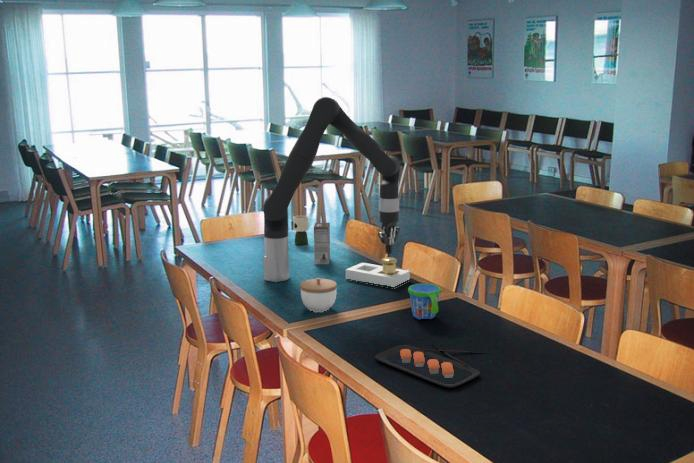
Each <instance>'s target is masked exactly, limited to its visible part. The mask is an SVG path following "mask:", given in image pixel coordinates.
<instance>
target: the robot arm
mask: <svg viewBox="0 0 694 463" xmlns="http://www.w3.org/2000/svg"><path fill="white" fill-rule="evenodd" d="M329 125H330V126H331V127H334V128H335V129H336V130H337V131H338V132H339V133H341V134H342V135H343V136H344V137H345V138H346V139H347V141H348V142H349V143H350V144H351V145H352V146H353V148H354V149H356V150H357V151H358V153H360V154H361V155H362V156H363V157H364V158H366V159H367V160H368V161H369V162H370V163H371V165H372V166H373V167H374V169H375V170H376V171H377V172H378V173H380V174H381V175H382V176H381V177H382V178H381V183H380V185H379V201H378V202H379V203H378V206H379V207H378V209H379V210H378V213H379V216H378V220H379V222H380V223H381V228H380V229H381V231H379V232H378V233H377V235H378V238H379V240H380V241H381V244H383V245H385V254H386V255H391V254H393V245H394V244H395V242H396V241H397V239H398V236H399V233H400V230H401V228H400V227H398V226H397V225H398V224H397V223H399V221H400V200H399V182H400V176H401V175H400V174H401V163H400V160H399V158H397V156H394V155H388V154H387V153H386V152H385V151H384V150H383V149H382V146H381V144H379V143H378V142H377V141H376V140H375V139H374V138H373V137H371V135H369V134H368V133H367V132H366V131H365V130H364V129H362V128H361V126H359V125H357V123H356V122H354V121H353V120H352V119H351V118H350V117H349V116H348V115H347V113H346V112H345V111H344V110H343V108H342V106H340V104H339V103H338V101H337V100H335V99H334V98H331V97H328V96H323V97H320V98H318V99H317V100H316V102H314V104H313V106H312V108H311V111H310V114H309V117H308V119H307V121H306V123H305V126H304V128H303V130H302V131H301V133H300V135H299V136H298V138H297V140H296V142H295V144H294V145H293V147H292V148H291V151H290V153H289V154H288V156H287V158H286V160H285V163H284V166H283V168H282V170H281V174H280V176H279V179H278V181H277V183H276V185H275V187H274V189H273V191H272V192H271V194H270V195H267V198H265V200H264V203H263V206H262V211H263V212H262V213H263V217H264V218H263V225H264V226H263V233H264V234H263V235H264V236H263V237H264V239H263V241H264V256H263V257H262V258H263V280H264V281H268V282H273V283H278V282H285V281H287V280H289V279H290V262H289V211H288V210H289V206H290V203H291V201H292V199H293V197H294V195H295V193H296V191H297V189H298V188H299V187H300V185H301V184H302V182H303V180H304V179H305V177H306V176H307V174H308V172H309V171H310V169H311V167H312V164H313V163H314V161H315V159H316V156H317V153H318V150H319V146H320V144H321V143H320V142H321V140H322V137H323V135H324V134H325V132H326V130H327V128H328V127H329Z"/></svg>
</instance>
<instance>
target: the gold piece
mask: <svg viewBox="0 0 694 463" xmlns="http://www.w3.org/2000/svg"><path fill="white" fill-rule="evenodd" d="M397 262H398V260H397V258H396V257H382V258H381V263H382V266H383V274H386V275H394V274H396V266H397Z"/></svg>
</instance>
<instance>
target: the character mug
mask: <svg viewBox="0 0 694 463" xmlns="http://www.w3.org/2000/svg"><path fill="white" fill-rule="evenodd" d="M292 218H293V220H292V222H293V231H294V232H295V233H294V234H295V236H294V244H295V245H305V244H308V243H309V238H308V231H309V227H310V226H309V216H307V215H294V216H293V217H292Z"/></svg>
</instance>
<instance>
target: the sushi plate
mask: <svg viewBox="0 0 694 463" xmlns="http://www.w3.org/2000/svg"><path fill="white" fill-rule="evenodd" d="M411 351H413V352H414V353H413V359H414V365H415V367H424V364H425V357H424V355H427V356H430V357H432V358H433V359H429V360H428V361H427V365H428V368H429V372H430V374H439V368H440V365H439V361H438V360H440V361H442V362H443V363H441V368H442V375H443V376H444V378H453V376H454V369H453V365H455V366H456V367H458V368H461V369H465V370H467V371H470V372H471V373H472V375H471V376H469V377H468V378H466V379H464V380H462V381H460V382H457V383H455V384H444V383H441V382H438V381H436V380H433V379H430V378H428V377H425V376H423V375H421V374H418V373H416V372H414V371H411V370H409V369H407V368H404V367H402V366H399V365H397V364H394V363H391V362H389V361H388V360H386V358H387V357H388V356H391V355H395V354H396V353H399V352H400V356H401V359H402V363H411V357H412V354H411ZM440 351H443V352H444V353H445V354H444V353H443V354H444V355H446V354H447V355H446V356H448V357H450V358H451V359H450V358H448V357H444V356H442V355H439V354H436V353H434V352H440ZM468 351H469V350H468ZM468 351H467V350H452V349H451V350H448V349H441V350H437V349H429V348H420V347H417V346H414V345H410V344H400V345H396V346H394V347H391V348H388V349H385V350H384V351H381V352H378V353H377V354H375V356H374V358H375V359H376V360H377V361H379V362H381V363H383V364H385V365H387V366H390V367H393V368H395V369H398V370H401V371H403V372H405V373H407V374H411V375H413V376H414V377H415V376H416V377H418V378H421V379H423V380H425V381H428V382H429V383H433V384H435V385H439V386H441V387H444V388H456V387H459V386H461V385H463V384H466V383H468V382H470V381H472V380H474V379H475V378H477V377H479V376H480V374H481V371H480V370H479V369H477V368H474V367H472V366H470V365H468V364H466V363H465V362H463V361H461V359H460V360H459V359H458V358H456V357H454V356H452V355H451V354H449V353H458V352H468ZM455 360H456V361H455Z"/></svg>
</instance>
